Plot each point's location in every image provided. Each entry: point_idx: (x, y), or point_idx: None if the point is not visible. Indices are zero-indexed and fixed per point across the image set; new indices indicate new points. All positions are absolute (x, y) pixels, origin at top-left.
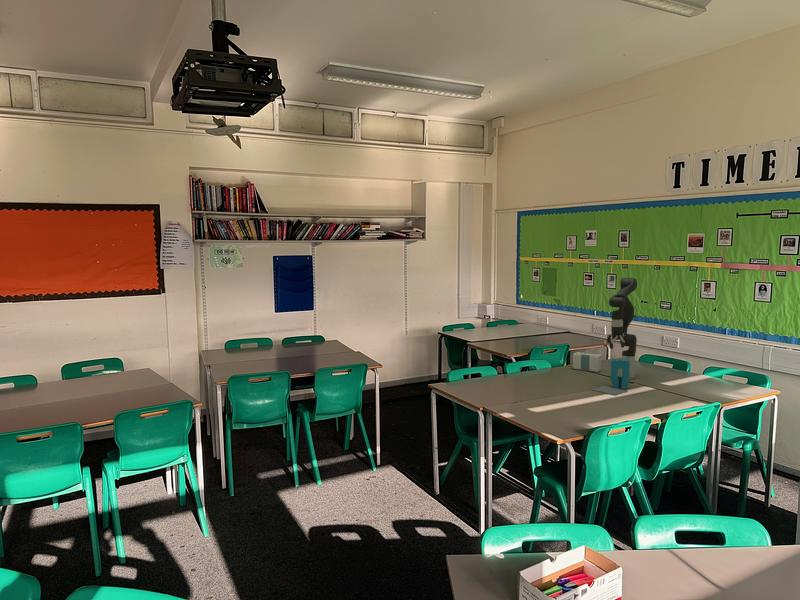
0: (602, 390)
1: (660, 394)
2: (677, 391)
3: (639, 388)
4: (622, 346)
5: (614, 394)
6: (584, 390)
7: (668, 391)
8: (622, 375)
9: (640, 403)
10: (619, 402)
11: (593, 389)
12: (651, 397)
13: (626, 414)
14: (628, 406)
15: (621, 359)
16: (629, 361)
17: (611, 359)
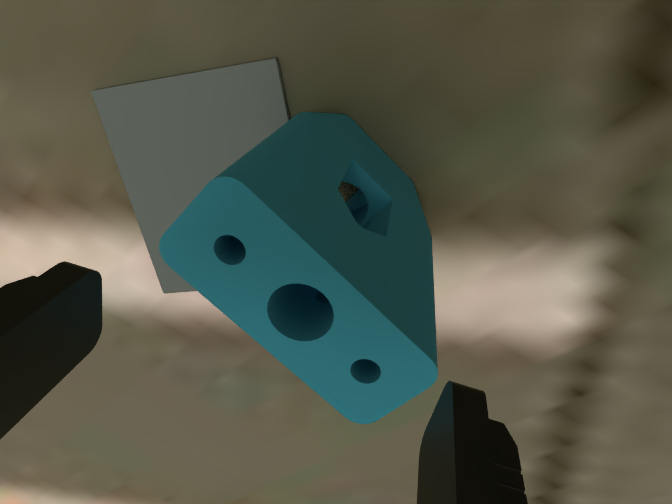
0: (152, 167)
1: None
2: (627, 456)
3: (486, 271)
4: (424, 463)
5: (163, 286)
6: (35, 59)
7: (577, 425)
8: (368, 226)
9: (191, 448)
10: (98, 382)
11: (102, 102)
12: (342, 429)
13: (18, 486)
14: (98, 440)
15: (348, 304)
16: (366, 418)
17: (198, 208)
